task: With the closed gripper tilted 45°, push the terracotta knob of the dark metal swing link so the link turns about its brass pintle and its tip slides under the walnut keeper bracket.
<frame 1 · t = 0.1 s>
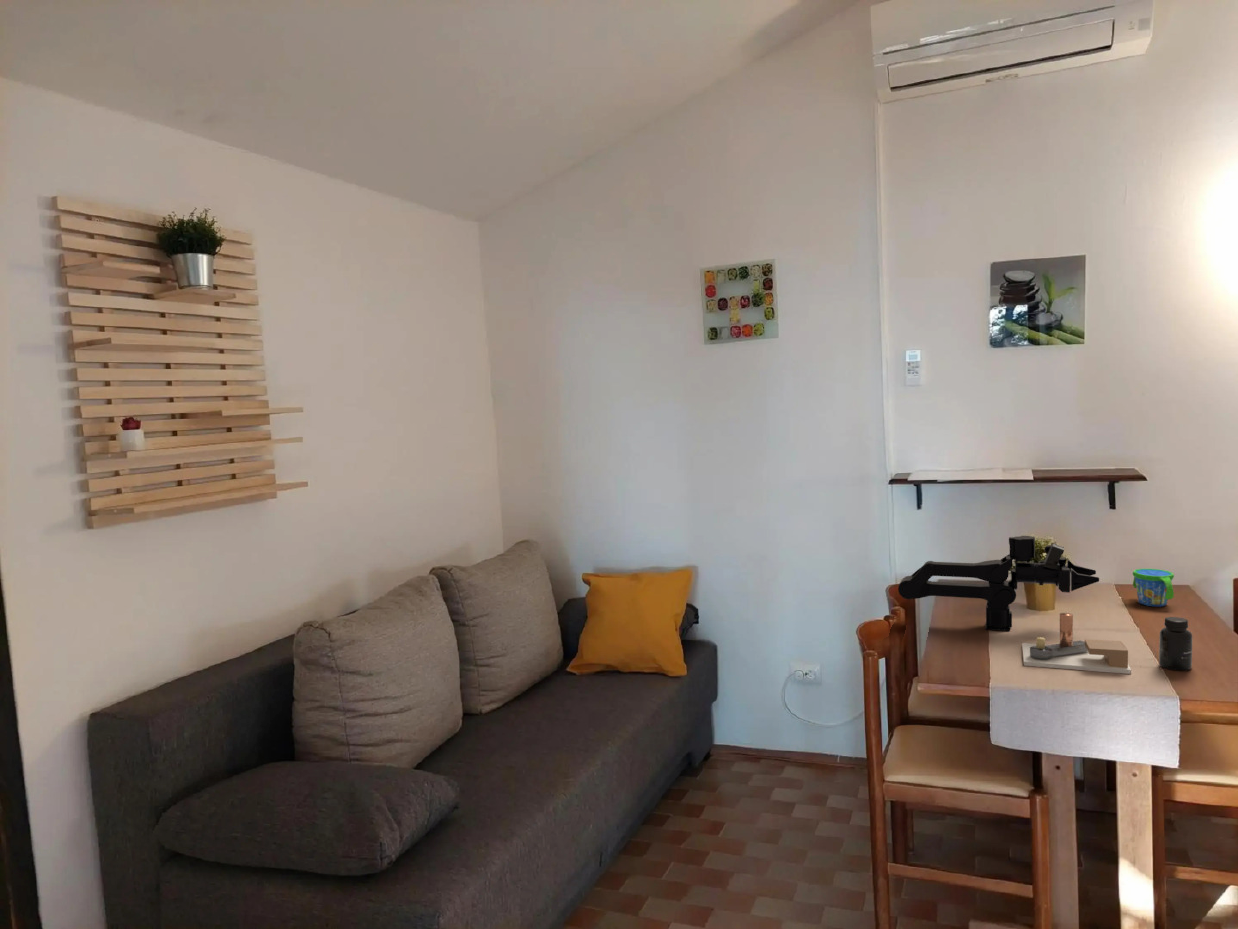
hand: (1097, 575, 242), 17 cm above the table, fingers open, 9 cm apart
supplement bottle: (1175, 667, 215), on the table
swing link: (1059, 634, 224), point 6 cm above the table, hinge at 0.0°
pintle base: (1040, 661, 223), on the table
snack cup: (1152, 605, 271), on the table
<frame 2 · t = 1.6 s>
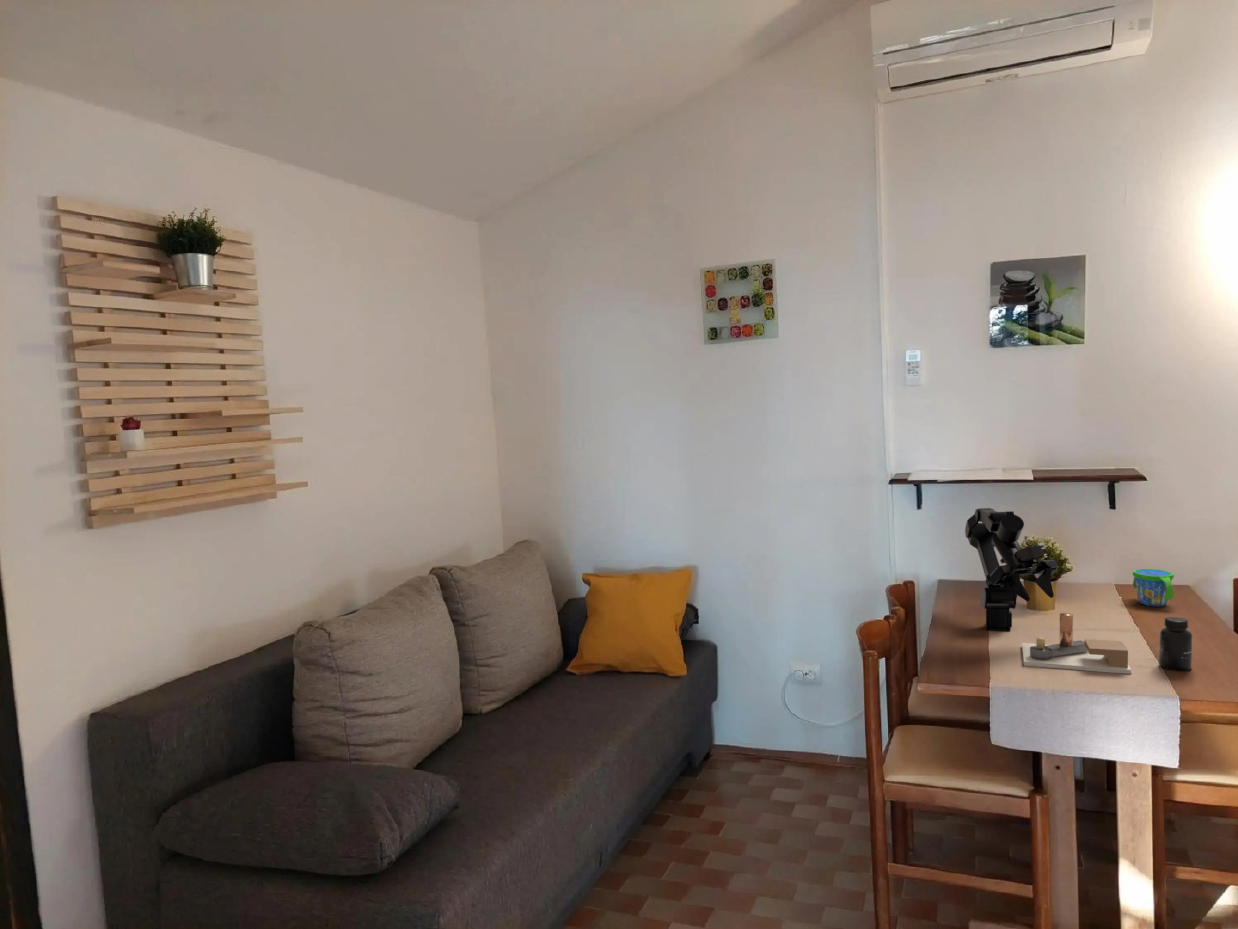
hand: (1040, 598, 231), 14 cm above the table, fingers open, 7 cm apart
nothing on the table moved.
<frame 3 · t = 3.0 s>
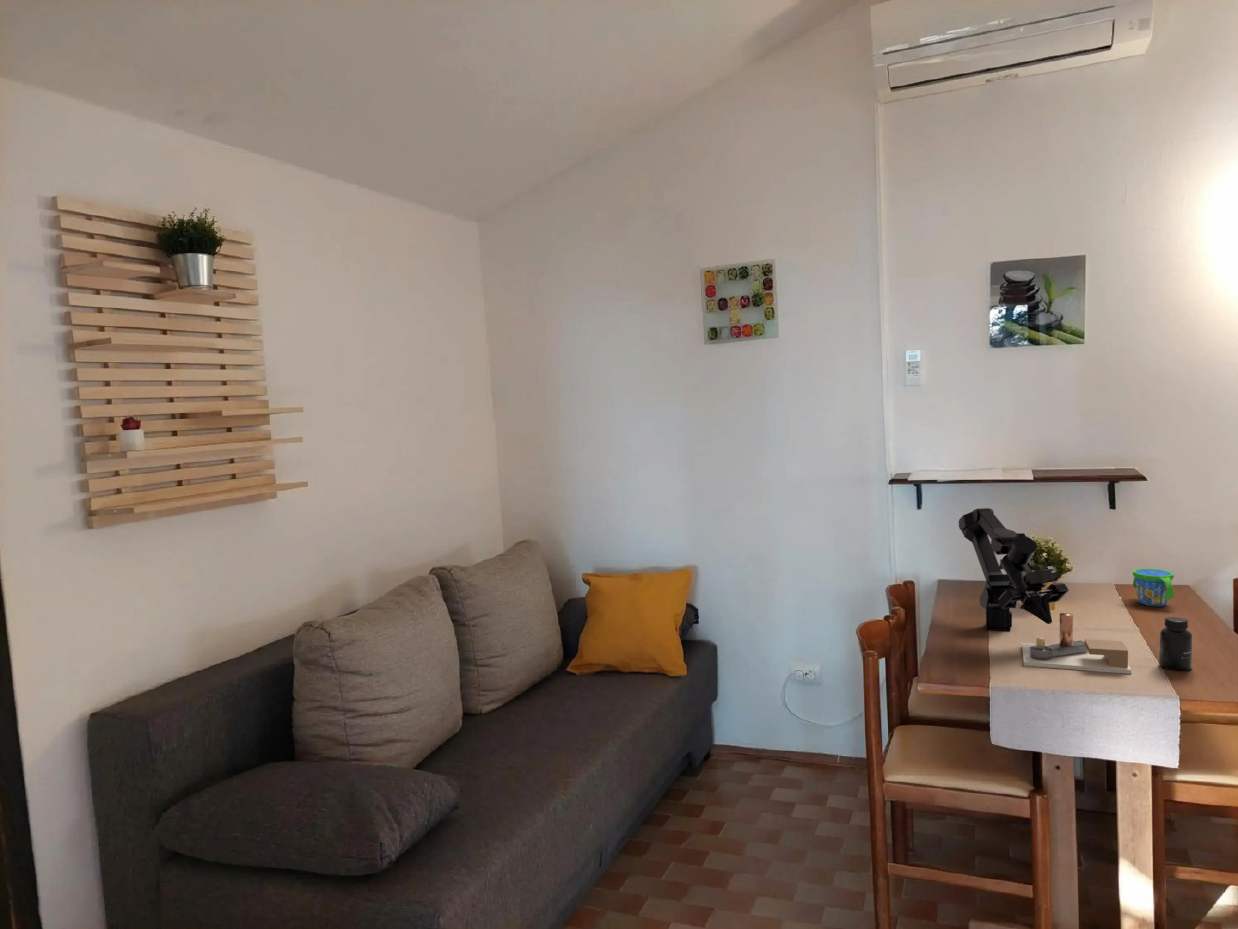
hand: (1050, 623, 228), 8 cm above the table, fingers closed
nothing on the table moved.
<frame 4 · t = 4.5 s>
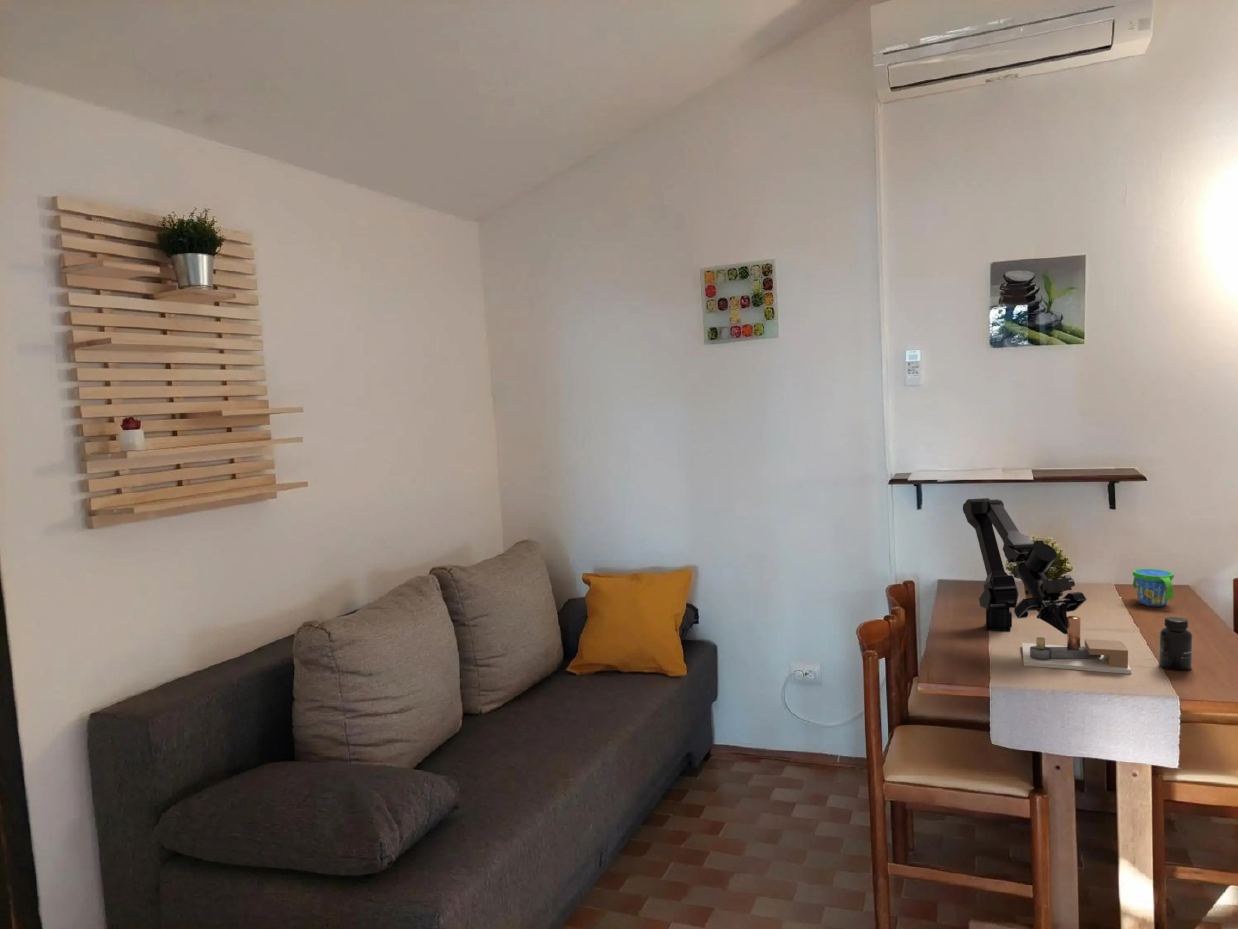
hand: (1067, 633, 223), 7 cm above the table, fingers closed, pressing on swing link
swing link: (1064, 637, 222), point 6 cm above the table, hinge at -22.6°, touching gripper
everything else where it was.
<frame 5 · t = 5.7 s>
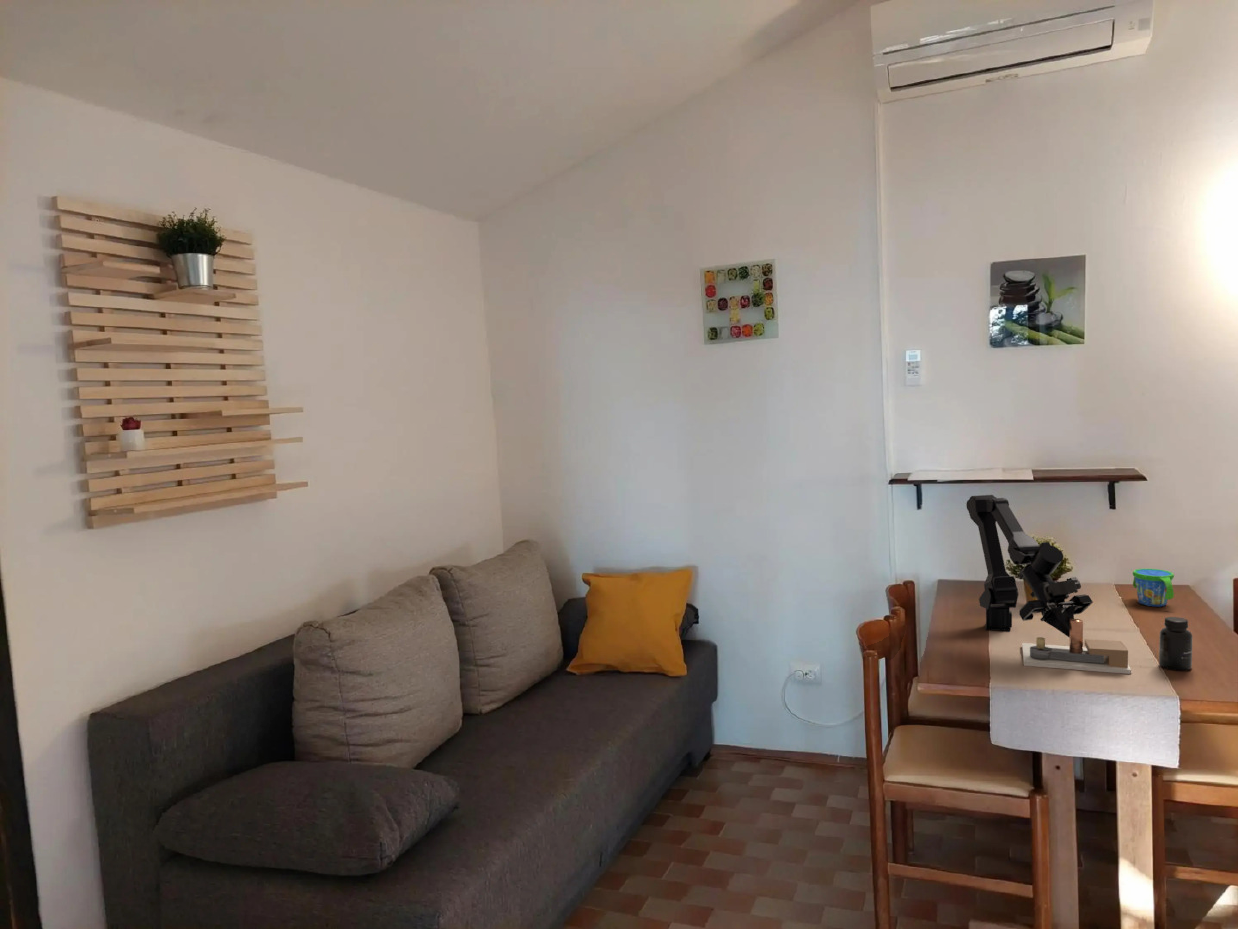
hand: (1073, 636, 221), 7 cm above the table, fingers closed
swing link: (1066, 639, 220), point 6 cm above the table, hinge at -42.1°, touching gripper
everything else where it was.
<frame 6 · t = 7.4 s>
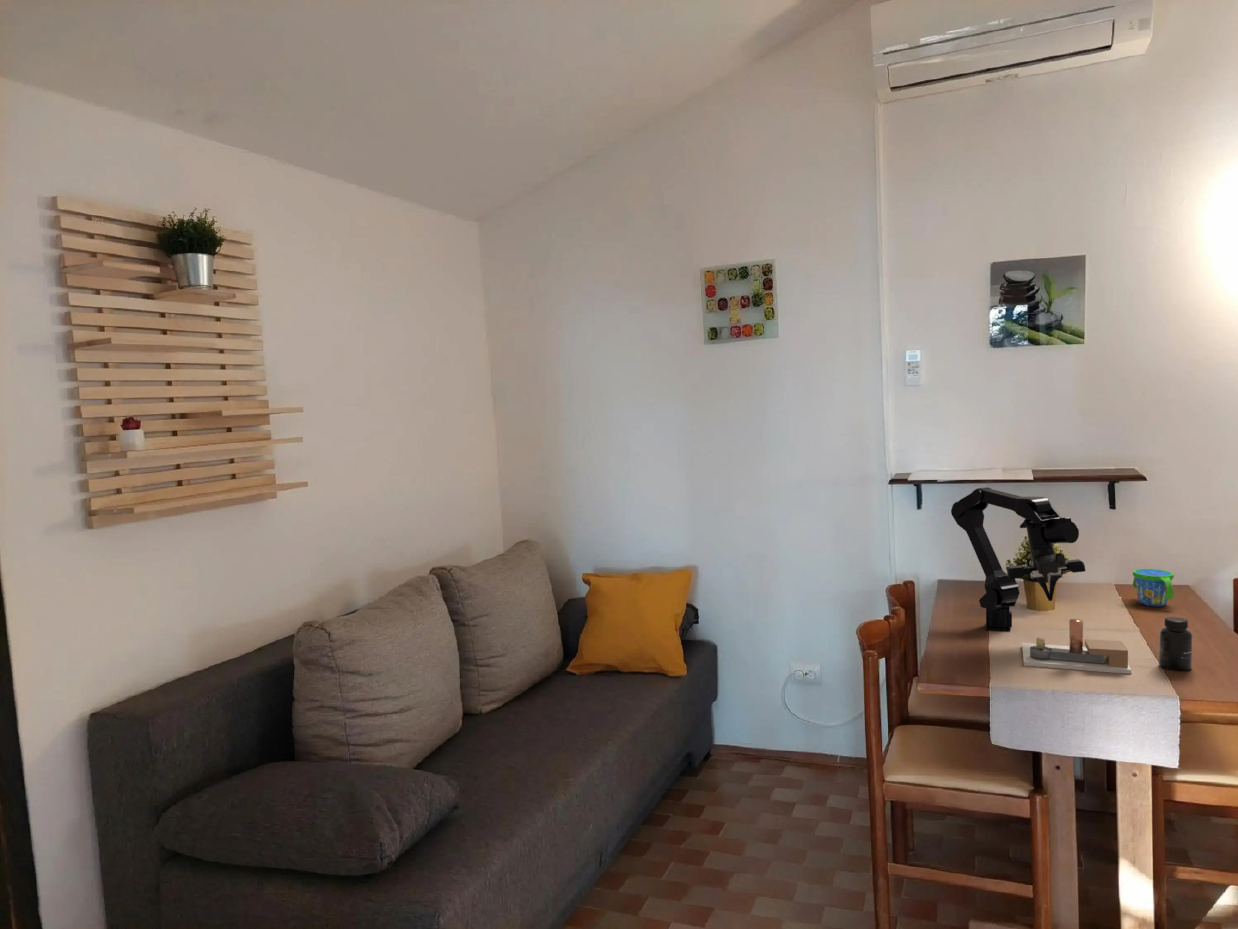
hand: (1050, 600, 237), 12 cm above the table, fingers closed
swing link: (1066, 639, 220), point 6 cm above the table, hinge at -42.1°
everything else where it was.
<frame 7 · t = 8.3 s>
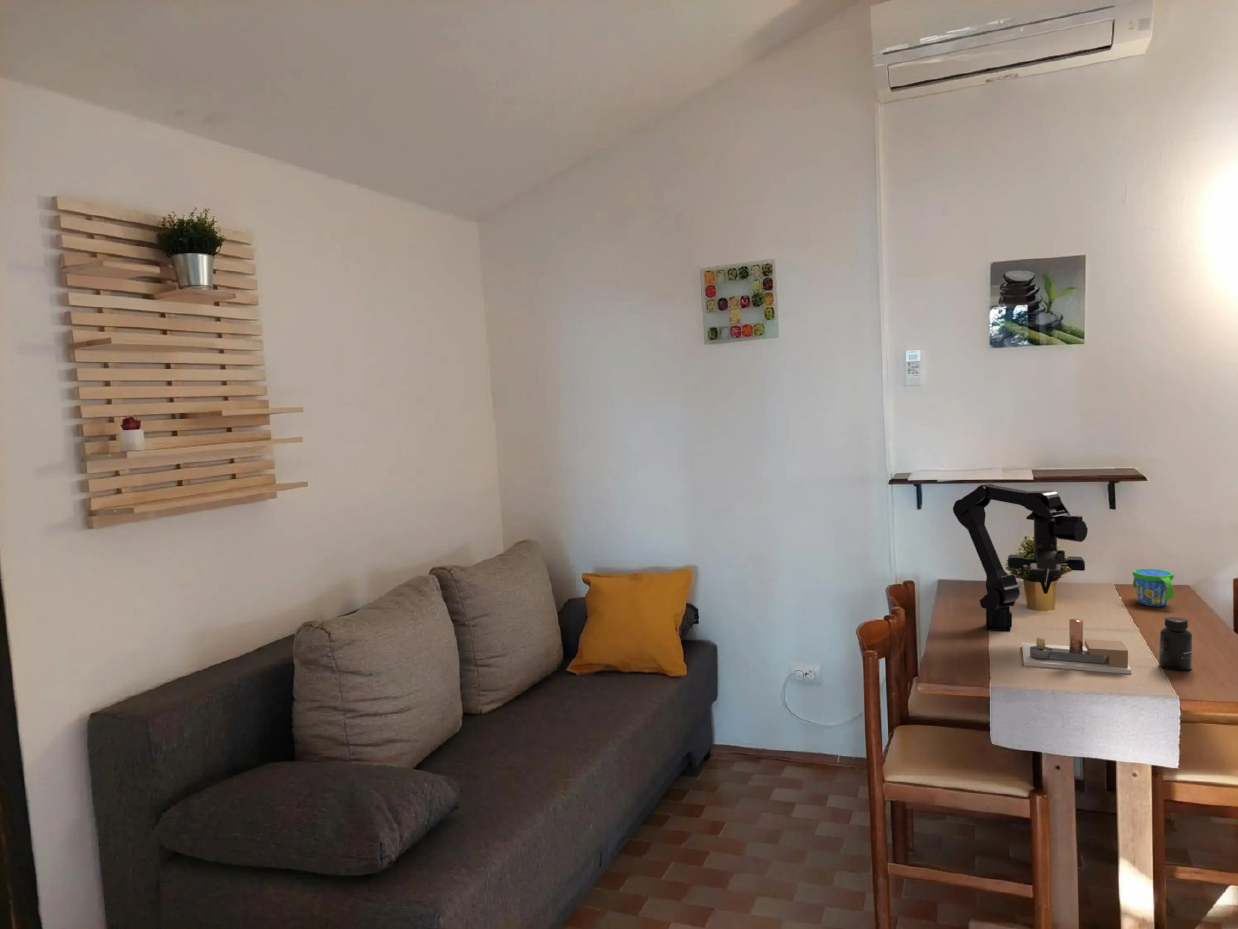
hand: (1045, 593, 239), 13 cm above the table, fingers closed
nothing on the table moved.
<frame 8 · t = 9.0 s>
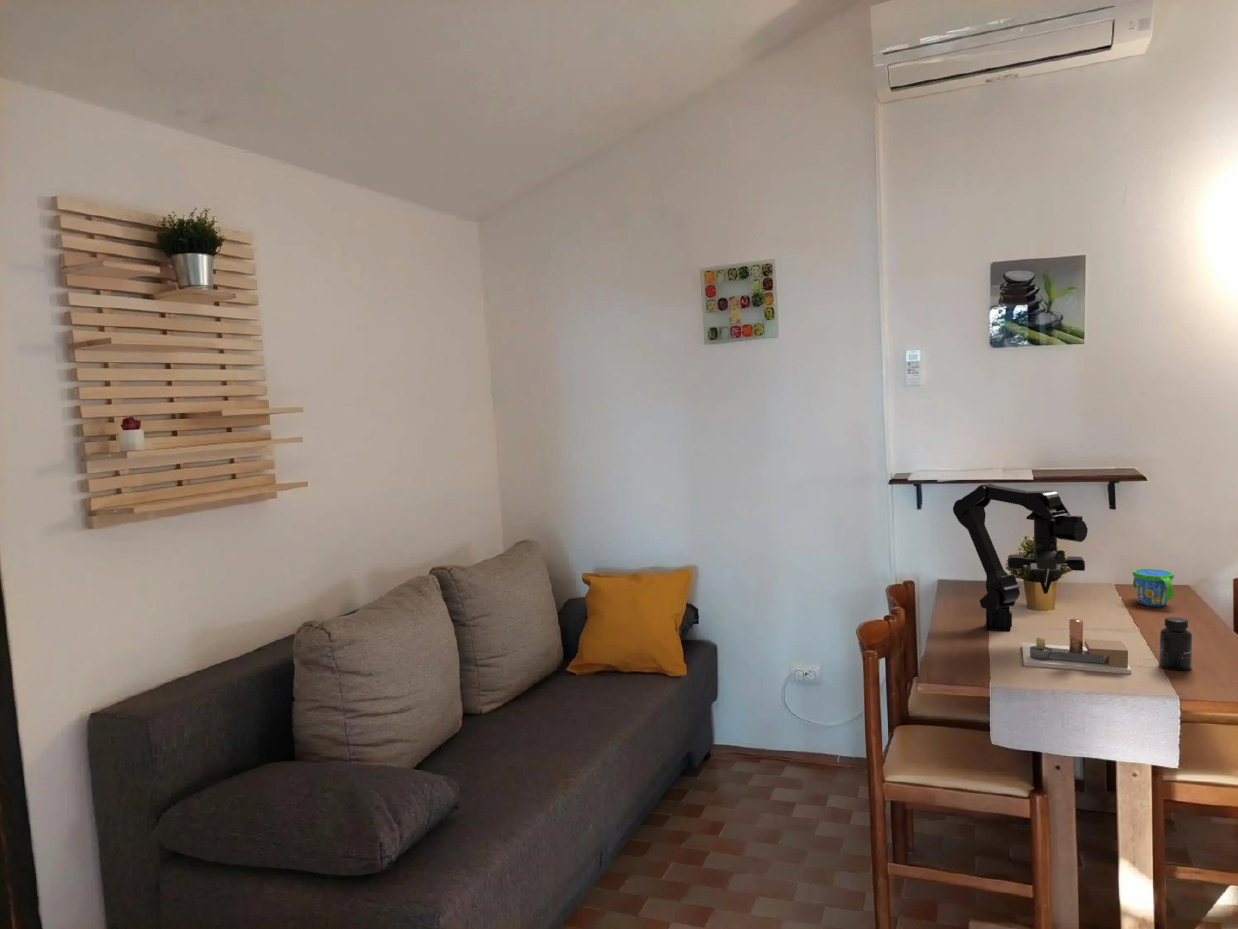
hand: (1045, 593, 239), 13 cm above the table, fingers closed
nothing on the table moved.
at the end: swing link at -42° (first picture: +0°); supplement bottle moved 0.2 cm from its start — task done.
